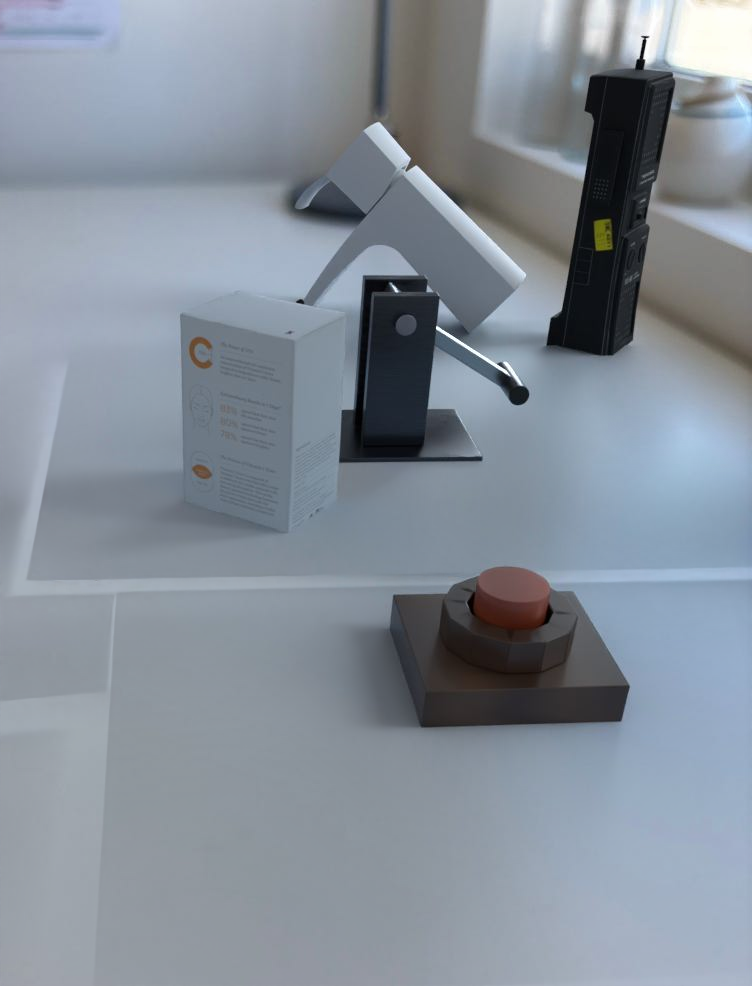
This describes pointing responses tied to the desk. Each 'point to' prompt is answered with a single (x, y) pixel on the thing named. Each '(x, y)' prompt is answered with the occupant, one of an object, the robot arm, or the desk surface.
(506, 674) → the button block
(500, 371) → the tap lever
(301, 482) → the small box
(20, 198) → the desk surface
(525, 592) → the button
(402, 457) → the bracket
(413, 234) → the faucet
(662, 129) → the portable radio
